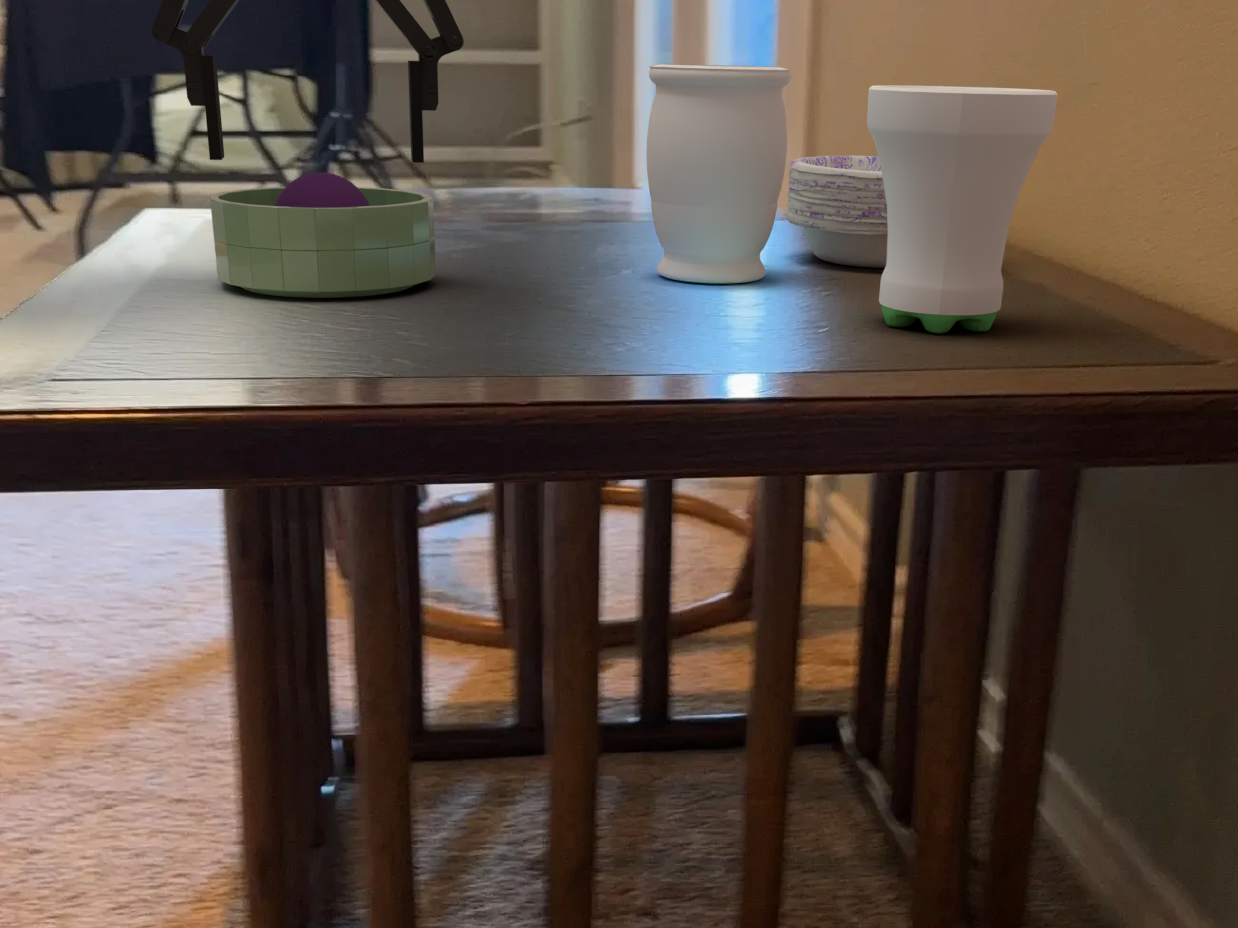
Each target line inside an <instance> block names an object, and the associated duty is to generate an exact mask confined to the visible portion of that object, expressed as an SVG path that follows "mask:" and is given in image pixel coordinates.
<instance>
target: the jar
mask: <svg viewBox="0 0 1238 928" xmlns="http://www.w3.org/2000/svg"><path fill="white" fill-rule="evenodd" d="M791 76H792V75H791V69H787V68H785V67H781V66H763V65H762V66H759V65H758V66H757V65H756V66H755V65H721V64H680V63H679V64H677V63H674V64H673V63H672V64H671V63H662V64H661V63H660V64H655V65H649V71H648V77H649V79H650V81H651V82H652V83H653V84H655V94H654V98H653V100H652V104H651V108H650V114H649V118H648V119H649V120H648V127H647V136H646V173H647V180H648V181H647V182H648V190H649V196H650V206H651V207H650V208H651V214H652V215H651V216H652V221H653V226H654V231H655V234H656V236H657V239H658V241H659V244H660V246H661V247H662V249H663V256H662V258H661V260H660V261H659V262H658V263H657V267H656V272H657V273H658V275H660V276H662V277H664V278H667V279H670V280H675V281H679V282H686V283H687V282H688V283H695V284H696V283H699V284H714V285H715V284H722V285H723V284H726V285H727V284H742V283H750V282H755V281H758V280H761V279H763V278H765V276H766V268H765V266H764V264H763V262H762V260H761V253H762V251H763V250H764V249H765V247H766V244H767V243H768V241H769V238H770V236H771V234H772V231H773V227H774V224H775V220H776V216H777V210H778V200H779V198H780V194H781V191H782V186H783V182H784V178H785V177H784V176H785V171H786V163H787V149H788V131H787V130H788V129H787V116H786V114H787V113H786V107H785V102H784V99H783V90H784V88H785V87H786V86H788V84H789V83H790V81H791Z"/></svg>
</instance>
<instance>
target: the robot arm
mask: <svg viewBox="0 0 1238 928" xmlns="http://www.w3.org/2000/svg"><path fill="white" fill-rule="evenodd" d="M189 1H190V0H162V1H161V4H160V6H159V9H158V12H157V14H156V16H155V19H154V22H153V25H152V27H151V35H152V37H153V38H154V40H156V42H159V43H162V44H165V45H166V46H169V47H172V48H174V49H177V51H179V52H180V54H181V56H182V58H183V68H184V78H185V88H186V99H187V100H188V102H189V105H190V106H192V107H204V110H205V121H206V122H205V123H206V132H207V133H206V134H207V142H208V155H209V160H210V161H222V160H224V158H225V149H224V148H225V146H224V136H223V135H224V134H223V125H222V124H223V123H222V113H221V101H220V100H221V99H220V90H219V89H220V88H219V77H218V67H217V66H218V65H217V56H216V55H211V54H209V55H207V54H205V52H204V49H205V48H206V46H207V45H208V43H209V42H210V41H211V39H212V38H213V37H214V36H215V34H216V33H217V32H218V30H219V29H220V27H221V26H222V25H223V24H224V22H225V20H226V19H227V18H228V16H229V15H230V14H231V12H232V11H233V10H234V8H235V7H236V5H237V4H238V3H239V2H240V0H209V1H208V3H207V4H206V6H204V8H203V10H202V11H201V13H199V15H198V16H197V17H196V19H195V20H194V22H193V23H192V25H191V26H190V27H189V29H188V30H185V29H183V28H180V27H179V26H180V24H181V22H182V19H183V16H184V14H185V11H186V9H187V6H188V3H189ZM374 1H375V2H376V3H377V5H378V6H379V7H380V8H381V10H382V11H383V12H384V13H385V15H386V16H387V18H389V20H390V21H391V22H392V23H393V25H394V27H396V28H397V29H398V31H399V32H400V33H401V34H402V36H403V37H404V39H405V40H406V41H407V42H408V43H409V45H410V46H411V47H412V48H413V49H414V51H415V52H416V53H417V55H418V60H407V73H408V74H407V75H408V101H409V102H408V104H409V106H408V107H409V133H410V159H411V162H412V163H413V164H414V163H415V164H417V163H419V164H421V163H423V164H424V163H425V158H424V157H425V155H424V151H425V150H424V123H423V122H424V121H423V119H424V118H423V111H432V112H435V111H437V108H438V106H439V76H438V75H439V71H438V70H439V69H438V65H439V61H440V59H441V58H443V57H444V56H445V55H448V54H451V53H454V52H457V51H460V50H461V49H462V48H463V47H464V40H465V39H464V37H463V34H462V33H461V30H460V28H459V26H458V24H457V22H456V20H455V18H454V16H453V15H454V14H452V11H451V9H450V7H449V4H448V3H447V0H422V1H423V3H424V5H425V7H426V9H427V11H428V13H429V15H430V18H431V20H432V22H433V24H434V26H435V28H436V30H437V32H438V36H435V37H433V38H430V36H429V35H428V34H427V32H426V31H425V30H424V29H423V28H422V26H421V25H420V23H419V22H418V21H417V20H416V19H415V17H414V16H413V15H412V14H411V12H410V11H409V10H408V8H407V7H406V6H405V5H404V4H403V2H402V1H401V0H374Z"/></svg>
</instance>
